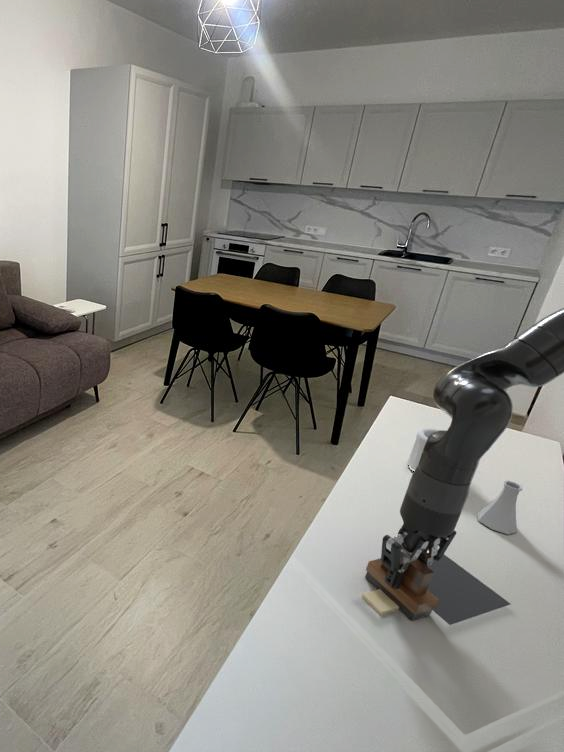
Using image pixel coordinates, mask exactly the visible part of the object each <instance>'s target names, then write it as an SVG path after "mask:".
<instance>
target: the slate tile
mask: <svg viewBox="0 0 564 752" xmlns="http://www.w3.org/2000/svg"><path fill="white" fill-rule="evenodd" d="M438 549H439V548H438ZM438 549H437V551H438ZM428 568H430V569H431V570H432V571H433V572H434V574H433V577H432V579H431V581H430V584H429V586H428V589H427V590H428V591H430V592H431V593H432V594H433V595H434V596H436V597H437V598H438V599H439V600H438V603H437V605H436V607H435V609H432V611H433V612H434V613H435V614H436V615H438V617H440V618H441V619H442V620H443V621H444V622H445V623H447V624H448V625H449V626H451V625H453V624H457V623H460V622H463V621H465V620H469V619H472V618H474V617H477V616H480V615H482V614H486V613H489V612H493V611H494V610H499V609H501V608H504V607H506V606H510V605H511V602H509V601H508V600H507V599H505V598H504V597H503V596H501V595H500V594H498V593H497V592H496V591H494V590H493V589H492V588H491V587H489V586H488V585H487V584H485V583H484V582H482V581H481V580H479V579H478V578H477V577H475V576H474V575H473V574H472V573H470V572H469V571H467V570H466V569H465V568H463V567H462V566H461V565H459V564H458V563H457V562H455V561H454V560H452V559H451V558H449V556H447V555H446V554H445V553H444V554H443V556H442V558H441V559H440V560H439V561H436V560H435V559H434V560H433V563H432V564H431V565H430V566H428Z"/></svg>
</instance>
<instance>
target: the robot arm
mask: <svg viewBox="0 0 564 752" xmlns="http://www.w3.org/2000/svg"><path fill="white" fill-rule="evenodd" d="M563 374H564V307H563V308H560V309H558V310H556V311H554V312H552V313H549V314H548V315H546V316H545V317H543V318H541V319H540V320H538V321H537V322H536V323H534V324H532V325H531V326H530V327H528V328H527V329H525V330H524V331H522V332H521V333H520V334H518V335H517V336H514V338H513V339H511V340H510V341H509V342H507V343H505V344H504V345H503V346H501V347H499V348H495V349H493V350H490V351H488V352H485V353H483V354H480V355H479V356H476V357H474V358H472V359H470V360H467V361H465V362H463V363H461V364H459V365H456V366H455V367H454V368H452V369H450V370H449V371H448V372H446V373H445V374H444V375H443V376H442V377H441V378H440V379H439V380H438V382H437V383H436V385H435V387H434V389H433V400H434V402H435V403H434V404H436V406H437V407H438V408H439V409H440V410H441V411H442V412H444V414H446V415H447V416H448V417H449V418H450V419H451V421H450V424H449V426H448V428H447V430H442V429H441V430H442V431H436V432H434V433H432V434H431V435H430V436H429V437H428V439H427V441H426V443H425V446H424V449H423V451H422V454H421V457H420V460H419V463H418V465H417V467H416V469H415V471H414V473H413V472H412V475H411V477H410V479H409V483H408V486H407V488H406V491H405V494H404V497H403V499H402V502H401V505H400V508H399V514H400V516H401V519H402V522H403V524H402V526H401V527H400V528H399V530H398V532H397V535H395V536H392V537H391V535H389V534H385V535H384V536H383V537H382V541H381V552H380V554H381V555H380V558H381V562H382V563H383V564H384V565H385V566H387V567H388V568H389V569H388V572H387V574H386V577H385V582H386V583H387V584H388V585H389V586H390V587H391V588H392V589H394V590H396V589H399V587H400V584H401V582H402V579H403V576H404V574H405V571H406V569H407V568H408V566H409V564H410V563H414V562H415V561H416V560H417V559H418V560H420V561H421V562H422V563H423V564H425V565H426V566H427V567H428V566H430V565H431V564H432V563H433V560H434V559H435V560H436V561H439V560H440V559H441V558H442V556H443V554H444V555H445V553H446V551H447V549H448V548H449V546H450V545H451V543H452V541H453V540H454V539H455V536H456V535H457V531H456V530H455V528H456V527H457V524H458V522H459V520H460V517H461V515H462V513H463V510H464V507H465V506H466V502H467V499H468V497H469V494H470V489H471V484H472V482H473V479H474V477H475V474H476V472H477V470H478V467H479V465H480V461H481V459H482V457H483V456H484V455H486V453H487V452H488V451H489V450H490V449H491V448H492V446H493V445H494V444H495V443H496V442H497V441H498V439H499V438H500V437H501V436H502V434H504V432H505V431H506V429H507V428H508V427H509V424H510V423H511V420H512V416H513V411H514V410H513V408H514V407H513V406H514V405H513V401H512V398H511V396H510V394H509V393H508V392H507V391H506V390H507V389H510V388H512V387H515V386H516V387H517V386H523V387H527V388H540V387H543V386H545V385H547V384H549V383H550V382H552V381H554V380H555V379H557V378H558V377H560V376H562V375H563ZM402 547H403V548H404V549H405V550H407V551H408V552H409V553H411V555H409V554H408V553H406V552H405V551H404V550H403V549H402ZM437 549H438V551H437ZM400 556H401V557H402V558H403V562H402V564H401V563H400Z"/></svg>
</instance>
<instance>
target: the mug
mask: <svg viewBox="0 0 564 752" xmlns="http://www.w3.org/2000/svg"><path fill="white" fill-rule="evenodd" d="M436 431H442V429H439V428H438V429H437V428H432V427H431V428H429V427H426V428H421V429H419V430H418V431H417V433H416V435H415V440H414V443H413V446H412V449H411V452H410V455H409V457H408V459H407V463H408V464H409V465H410V466H411V468H412V469H414V470H415V469H416V467H417V465H418V463H419V460H420V457H421V454H422V451H423V449H424V446H425V443H426V441H427V439H428V437H429V436H430V435H431V434H432V433H434V432H436ZM411 472H412V474H413V473H414V472H413V471H411Z"/></svg>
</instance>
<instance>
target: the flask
mask: <svg viewBox="0 0 564 752" xmlns="http://www.w3.org/2000/svg"><path fill="white" fill-rule="evenodd" d="M522 491H523V485H521V484H519V483H517V482H514V481H511V480H504V481H503V488H502V490H501V491H500V492H499V494H498V495H497V496H496V497H495V498H494V499H493V500H492V501H491V502H490V503H488V504H487V505H486V506H485V507H483V508H482V509H481V510H480V511H478V513H477V514H476V515H477V521H478V522H479V523H481V524H482V525H484V526H486V527H487V528H489V529H491V530H493V531H495V532H499V533H502V534H505V535H511V534H515V533H517V527H518V526H517V525H518V524H517V500H518V496H519V494H520V492H522Z"/></svg>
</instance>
